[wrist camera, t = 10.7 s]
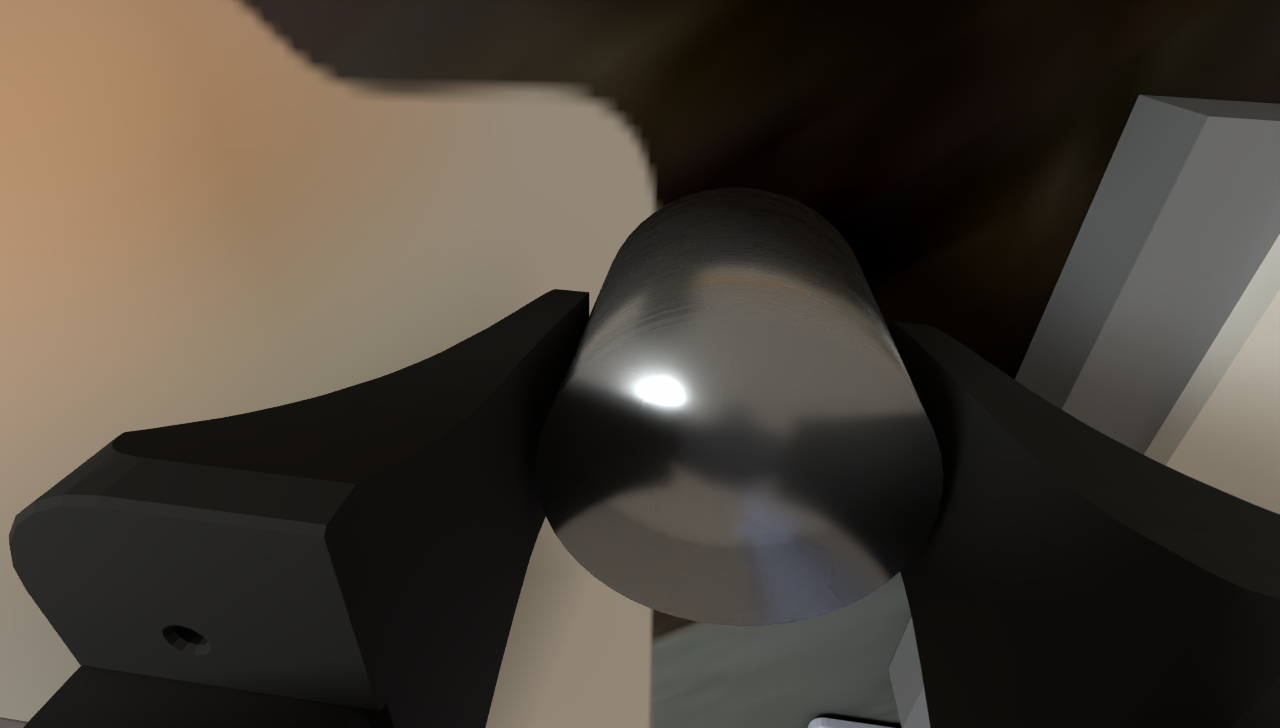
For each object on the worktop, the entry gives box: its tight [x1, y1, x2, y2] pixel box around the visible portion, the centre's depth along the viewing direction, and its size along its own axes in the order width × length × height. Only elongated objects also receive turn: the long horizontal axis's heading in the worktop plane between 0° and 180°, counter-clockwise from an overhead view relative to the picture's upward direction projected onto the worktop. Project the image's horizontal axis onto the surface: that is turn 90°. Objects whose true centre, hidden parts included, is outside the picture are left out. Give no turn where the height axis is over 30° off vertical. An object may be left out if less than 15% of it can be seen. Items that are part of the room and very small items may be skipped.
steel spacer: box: [536, 188, 944, 626], centre depth 10 cm, size 5×5×5 cm
